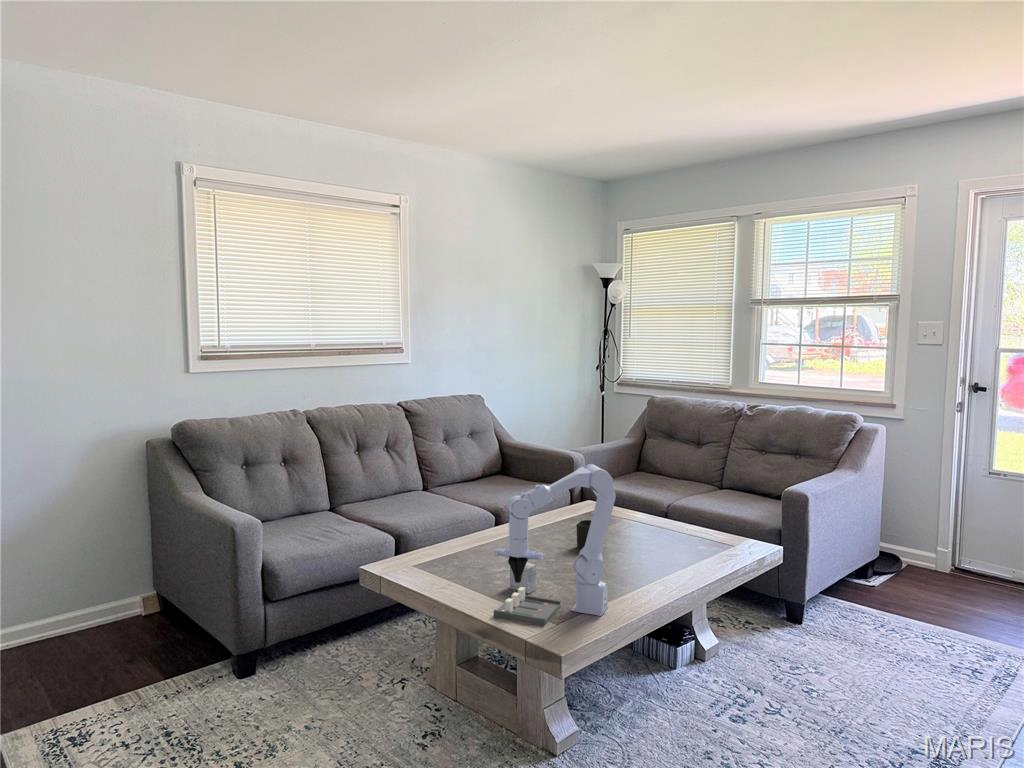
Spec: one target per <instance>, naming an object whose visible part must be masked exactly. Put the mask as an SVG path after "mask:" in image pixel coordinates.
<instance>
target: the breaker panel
mask: <svg viewBox="0 0 1024 768" xmlns="http://www.w3.org/2000/svg"><path fill="white" fill-rule="evenodd" d="M513 593H514V592H512V593H511V596H510V597H509V598H510V599H512V594H513ZM561 604H562V601H561V600H559V599H558V600H557V599H552V598H548V597H541V596H534V595H527V594H525V600H524V601H523V602H522V601H519V606H518V607H517V608H516V607H513V611H512V612H506V611H505V602H504V603H503V604H502V605H501V606H499V608H496V609H493V618H498V619H502V620H508V621H514V622H519V623H525V624H531V625H536V626H543V627H545V626H546V625H547V624H548V623H549V621H550V620H551V619H552V618H553V617H554V615H555V614H556V613H557V612H558V611H559V610H560V609H561V607H562V606H561Z"/></svg>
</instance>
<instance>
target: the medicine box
mask: <svg viewBox="0 0 1024 768" xmlns="http://www.w3.org/2000/svg"><path fill="white" fill-rule="evenodd" d="M520 587H525V594H526V595H527V594H531V593H533V592H535V591H536V590H537V565H536V564H533V563H530V562H528V561H527V563H526V565H525V568H524V571H523V574H522V579H521V582H520V583H516V582H515V578H514V574H513V571H512V569H511V567H510V566H509V588H510V589H512V590H517V591H518V589H519V588H520Z"/></svg>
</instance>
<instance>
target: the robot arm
mask: <svg viewBox="0 0 1024 768" xmlns="http://www.w3.org/2000/svg"><path fill="white" fill-rule="evenodd" d="M613 482H614V479H613V477H612V475H610V473H609V472H608V471H607V470H605V469H602V468H600V467H599V466H597V465H596V464H593V463H588V464H586V465H585V466H582V467H578V468H577V469H576V470H574V471H573V472H571V473H570V474H567V475H566V476H564V477H562V478H560V479H558V480H557V481H555V482H552V483H551V484H550V485H545V484H541V485H540V484H536V485H534V488H532V489H530V490H528V491H526V492H524V491H523V492H521V493H520V495H517V494H516V495H514V496H512V497H510V498H509V500H508V501H507V504H506V509H507V511H509V517H508V518H509V519H508V520H509V521H508V547H507V548H500V547H499V548H498V547H496V548H495V549H494V550H493V552H494V553H493V555H494V557H503V558H504V557H506V558H508V560H507V563H508V565H509V568H510V567H511V569H512V571H513V574H514V578H515V582H516V583H520V582H521V579H522V574H523V571H524V568H525V565H526V563H527V562H528V561H529V560H533V561H534V560H535V561H538V562H542V561H543V559H544V552H541V551H540V552H539V551H534V550H530V549H529V517H530V514H531V513H532V512H533V511H536V510H537V509H539V508H542V507H544V506H546V505H547V504H549V503H552V501H553V498H554V496H557V495H560V494H563V493H564V492H566V491H569V490H571V489H573V488H576V487H582V488H587V489H589V488H590V489H591V490H592V492H593V493H594V495H595V496H596V501H595V504H594V509H593V513H592V518H591V524H590V528H589V532H588V535H587V539H586V543H585V547H584V548H582V549H581V550H579V553H578V555H577V557H576V558H575V560H574V561H573V568H574V571H575V572H576V577H575V583H576V584H575V604H574V606H573V607H572V608H571V612H575V613H580V614H581V613H582V614H587V615H588V614H589V615H594V616H600V617H602V616H603V615H604V613H605V612H606V610H607V609H608V607H609V605H608V598H609V597H608V593H609V591H608V590H609V589H608V588H609V587H608V583H606V582H603V581H601V580H602V579H603V575H604V570H603V565H604V559H603V554H602V551H603V547H604V544H605V539H606V536H607V533H608V529H609V525H610V521H611V517H612V513H613V509H614V506H615V502H616V496H617V495H616V490H615V487H614V483H613Z"/></svg>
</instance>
